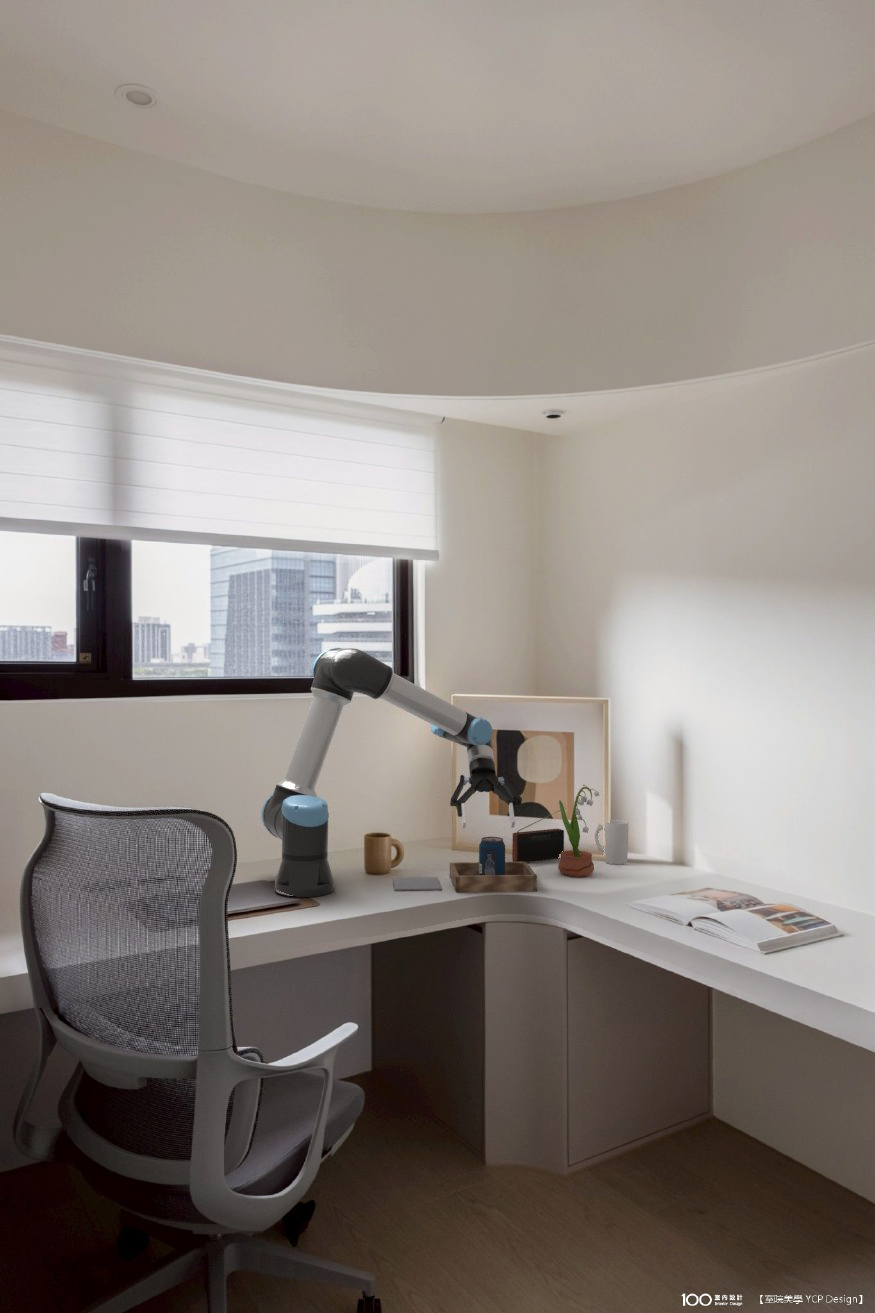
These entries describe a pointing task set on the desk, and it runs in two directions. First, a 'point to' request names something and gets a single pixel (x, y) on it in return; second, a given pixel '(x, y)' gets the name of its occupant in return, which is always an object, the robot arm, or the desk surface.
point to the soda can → (492, 856)
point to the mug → (614, 841)
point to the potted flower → (576, 841)
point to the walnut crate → (492, 878)
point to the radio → (537, 845)
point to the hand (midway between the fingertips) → (488, 825)
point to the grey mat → (416, 883)
